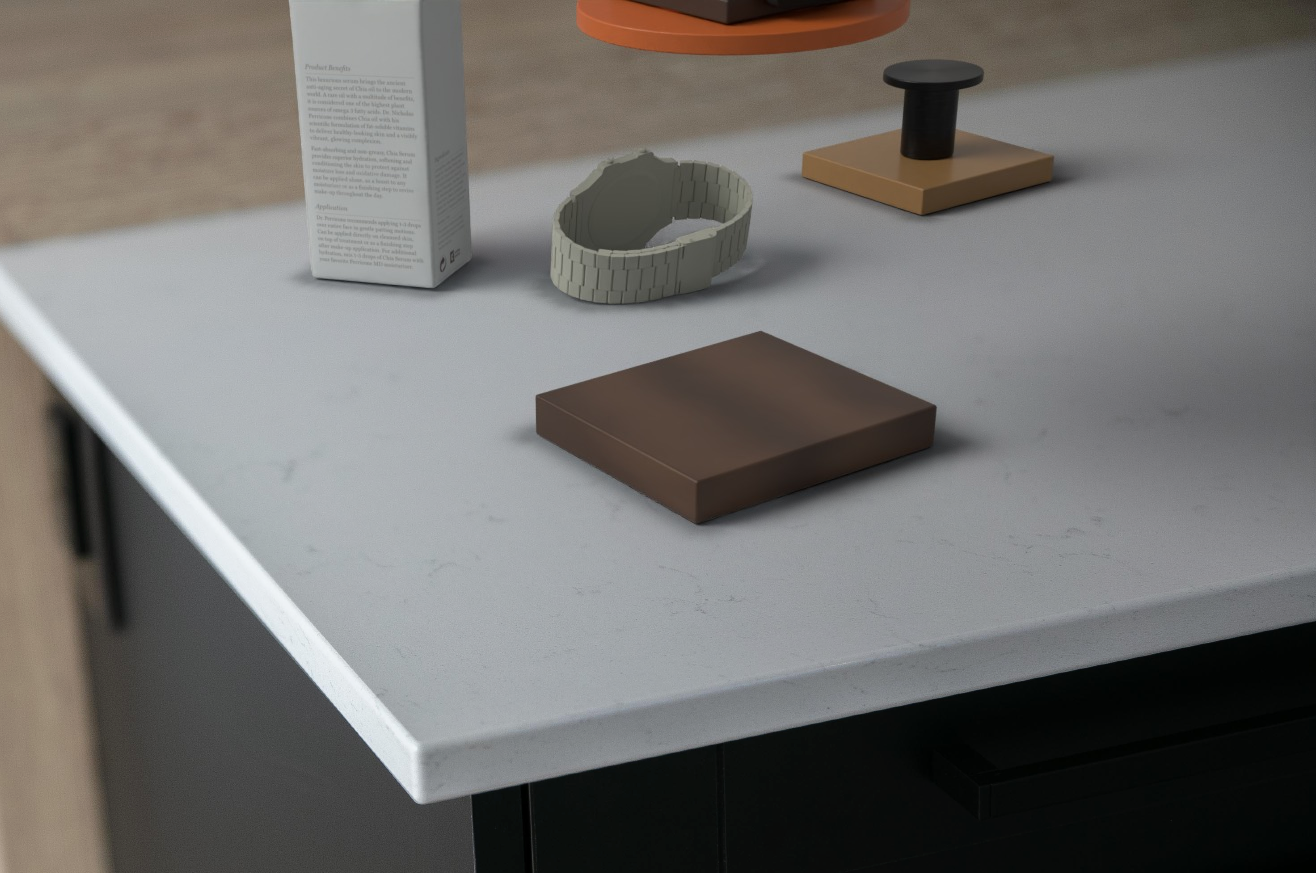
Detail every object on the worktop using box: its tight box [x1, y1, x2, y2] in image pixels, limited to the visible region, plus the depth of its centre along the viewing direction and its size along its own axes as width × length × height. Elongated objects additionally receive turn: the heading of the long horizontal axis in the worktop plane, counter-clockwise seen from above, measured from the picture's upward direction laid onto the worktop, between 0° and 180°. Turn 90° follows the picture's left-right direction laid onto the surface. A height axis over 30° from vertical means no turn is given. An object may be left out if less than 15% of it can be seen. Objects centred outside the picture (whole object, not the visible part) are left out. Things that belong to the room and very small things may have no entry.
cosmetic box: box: [288, 0, 473, 289], centre depth 82 cm, size 6×4×12 cm
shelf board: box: [535, 330, 938, 524], centre depth 66 cm, size 10×9×2 cm
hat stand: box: [801, 58, 1055, 216], centre depth 90 cm, size 8×8×5 cm
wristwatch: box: [549, 147, 754, 305], centre depth 80 cm, size 9×6×5 cm
